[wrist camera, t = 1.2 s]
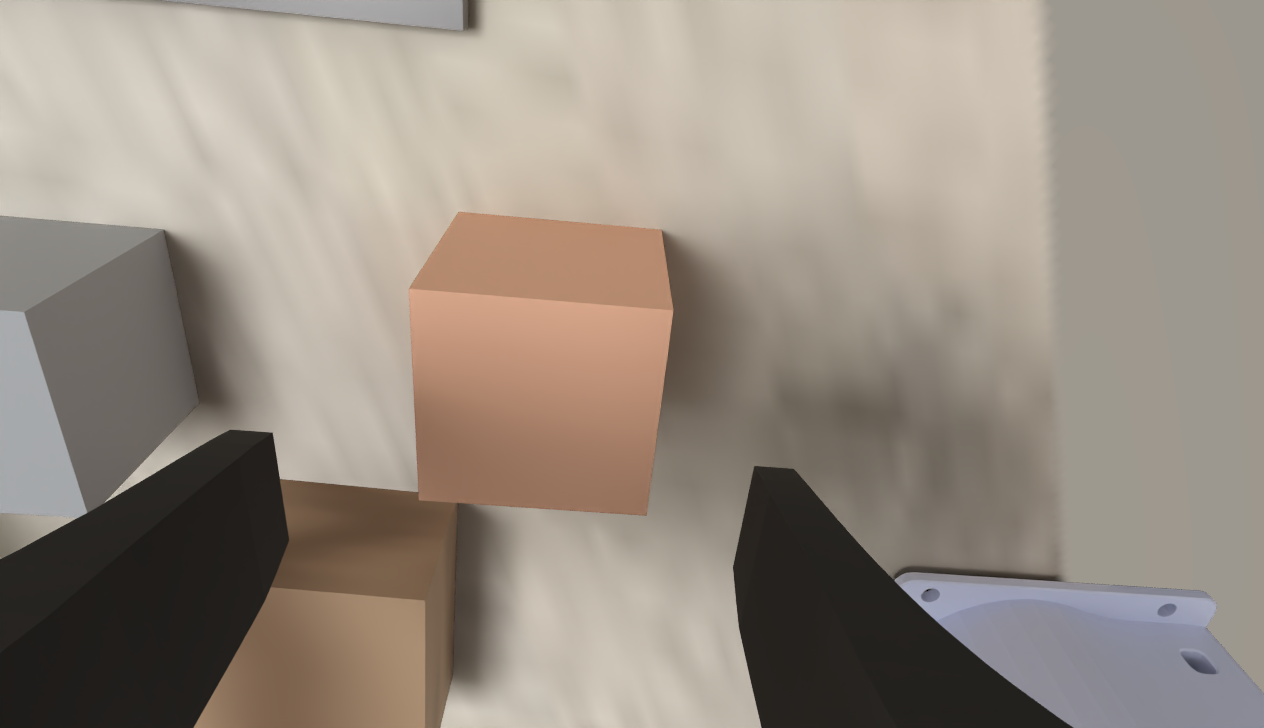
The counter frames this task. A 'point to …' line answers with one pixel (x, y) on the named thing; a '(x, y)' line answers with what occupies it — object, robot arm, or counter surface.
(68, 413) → the slate-grey block
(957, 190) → the counter surface
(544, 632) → the counter surface
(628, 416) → the terracotta block
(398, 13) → the card
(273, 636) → the walnut block
